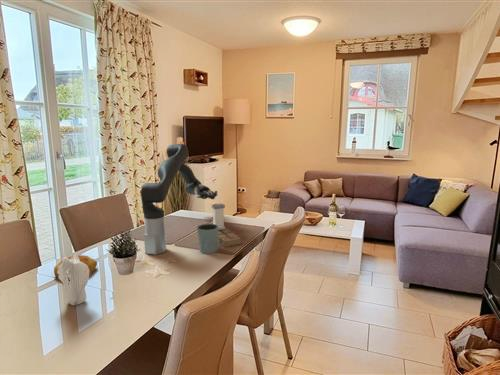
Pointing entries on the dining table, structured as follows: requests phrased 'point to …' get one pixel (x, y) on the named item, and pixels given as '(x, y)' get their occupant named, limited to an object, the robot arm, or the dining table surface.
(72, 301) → the shell sculpture
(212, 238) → the teal cylindrical container
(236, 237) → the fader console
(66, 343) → the dining table surface
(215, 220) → the white tall block
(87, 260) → the croissant
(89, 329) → the dining table surface
